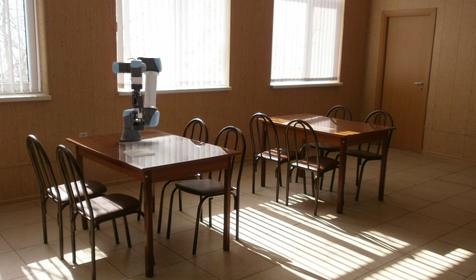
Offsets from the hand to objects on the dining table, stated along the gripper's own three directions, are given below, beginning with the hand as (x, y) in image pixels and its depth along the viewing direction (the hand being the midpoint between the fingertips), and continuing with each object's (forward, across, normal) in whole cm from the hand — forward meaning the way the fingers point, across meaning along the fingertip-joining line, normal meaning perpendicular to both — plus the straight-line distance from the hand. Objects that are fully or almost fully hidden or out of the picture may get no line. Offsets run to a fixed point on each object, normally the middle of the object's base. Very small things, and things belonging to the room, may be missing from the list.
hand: (137, 116), depth 315 cm
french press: (+9, 0, 0) cm, 9 cm away
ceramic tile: (+23, +13, -4) cm, 26 cm away
